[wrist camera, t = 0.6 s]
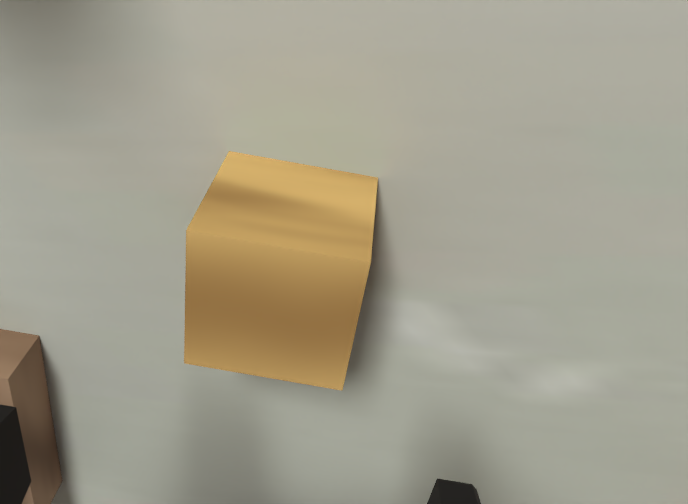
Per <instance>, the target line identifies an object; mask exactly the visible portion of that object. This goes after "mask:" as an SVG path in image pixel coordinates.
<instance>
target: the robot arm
mask: <svg viewBox="0 0 688 504" xmlns="http://www.w3.org/2000/svg"><path fill="white" fill-rule="evenodd" d="M30 483H31V477H30V472H29V467H28V462H27V457H26V452H25V448H24V443H23V438H22V433H21V428H20V423H19V419H18V414H17V409H16V407H12V406H6V405H1V404H0V504H22V502H23V500H24V497H25V495H26V493H27V490H28V488H29V486H30ZM427 504H481V503H480V499H479V496H478V493H477V490H476V489H475V487H474V486H473V485H472V484H466V483H460V482H454V481H448V480H442V479H437V480H436V483H435V485H434V488H433V490H432V493H431V495H430V498H429V500H428V503H427Z"/></svg>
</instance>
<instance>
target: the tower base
mask: <svg viewBox="0 0 688 504" xmlns="http://www.w3.org/2000/svg"><path fill="white" fill-rule="evenodd" d="M0 404H1V405H6V406H12V407H16V409H17V414H18V419H19V423H20V428H21V433H22V438H23V443H24V448H25V452H26V457H27V462H28V467H29V472H30V477H31V483H30V486H29V488H28V490H27V493H26V495H25V497H24V500H23V502H22V504H51V502H52V500H53V498H54V496H55V494H56V492H57V490H58V488H59V487H60V485H61V483H62V475H61V469H60V463H59V457H58V450H57V444H56V438H55V432H54V425H53V419H52V413H51V406H50V400H49V394H48V388H47V381H46V375H45V369H44V363H43V356H42V350H41V344H40V338H39V336H38V335H32V334H26V333H20V332H14V331H9V330H3V329H0Z"/></svg>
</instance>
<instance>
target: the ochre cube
mask: <svg viewBox="0 0 688 504" xmlns="http://www.w3.org/2000/svg"><path fill="white" fill-rule="evenodd" d="M377 183H378V178H376V177H371V176H365V175H360V174H354V173H349V172H343V171H337V170H332V169H326V168H321V167H315V166H309V165H304V164H298V163H293V162H287V161H281V160H276V159H270V158H265V157H259V156H253V155H248V154H242V153H237V152H231V151H229V152H228V154H227V156H226V158H225V160H224V162H223V163H222V165H221V167H220V169H219V171H218V173H217V175H216V176H215V178H214V180H213V182H212V184H211V186H210V187H209V189H208V191H207V193H206V195H205V197H204V199H203V200H202V202H201V204H200V206H199V208H198V210H197V211H196V213H195V215H194V217H193V219H192V221H191V223H190V224H189V226H188V228H187V230H186V284H185V347H184V363H186V364H192V365H197V366H203V367H209V368H215V369H221V370H226V371H232V372H238V373H244V374H249V375H255V376H261V377H267V378H273V379H278V380H284V381H290V382H296V383H302V384H307V385H313V386H319V387H325V388H330V389H336V390H343V385H344V381H345V376H346V372H347V367H348V363H349V358H350V354H351V349H352V345H353V340H354V336H355V331H356V327H357V322H358V318H359V313H360V309H361V304H362V300H363V295H364V291H365V286H366V282H367V277H368V273H369V268H370V264H371V254H372V242H373V231H374V219H375V207H376V195H377Z"/></svg>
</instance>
